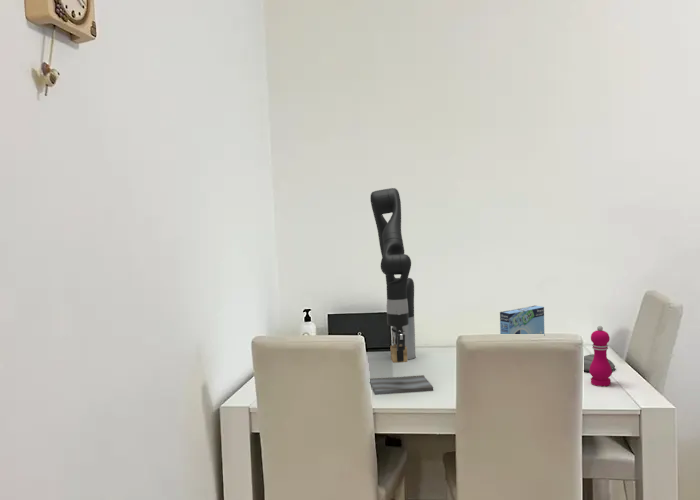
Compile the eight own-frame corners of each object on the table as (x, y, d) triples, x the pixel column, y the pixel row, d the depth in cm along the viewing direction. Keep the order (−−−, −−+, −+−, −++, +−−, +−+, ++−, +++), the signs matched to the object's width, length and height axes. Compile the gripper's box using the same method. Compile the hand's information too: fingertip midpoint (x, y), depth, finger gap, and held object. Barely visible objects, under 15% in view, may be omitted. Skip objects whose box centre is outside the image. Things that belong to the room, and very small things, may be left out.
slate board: (369, 381, 238) (369, 378, 237) (423, 378, 239) (423, 375, 239) (375, 394, 222) (374, 391, 222) (433, 390, 223) (433, 387, 223)
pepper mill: (611, 381, 226) (610, 324, 224) (612, 387, 219) (611, 328, 218) (589, 380, 228) (588, 323, 227) (589, 386, 221) (588, 327, 220)
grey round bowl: (574, 373, 239) (573, 359, 238) (570, 363, 253) (570, 349, 253) (618, 374, 235) (617, 359, 235) (611, 364, 250) (611, 350, 249)
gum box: (535, 363, 254) (534, 305, 253) (546, 366, 250) (545, 306, 248) (500, 372, 244) (498, 311, 242) (510, 375, 239) (509, 313, 238)
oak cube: (390, 359, 232) (390, 345, 232) (404, 358, 233) (404, 344, 232) (393, 362, 227) (392, 348, 227) (407, 361, 228) (406, 347, 227)
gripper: (383, 309, 235) (385, 355, 237) (389, 315, 221) (391, 365, 222) (404, 307, 236) (406, 354, 237) (411, 314, 222) (413, 363, 223)
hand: (399, 359), depth 230 cm, fingers closed on oak cube, 5 cm apart
